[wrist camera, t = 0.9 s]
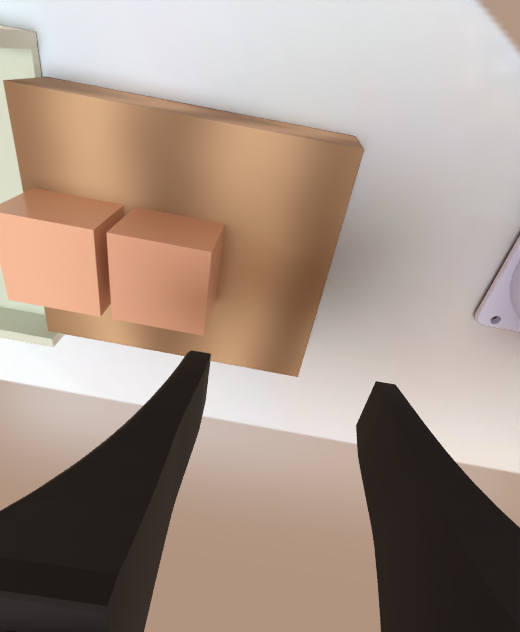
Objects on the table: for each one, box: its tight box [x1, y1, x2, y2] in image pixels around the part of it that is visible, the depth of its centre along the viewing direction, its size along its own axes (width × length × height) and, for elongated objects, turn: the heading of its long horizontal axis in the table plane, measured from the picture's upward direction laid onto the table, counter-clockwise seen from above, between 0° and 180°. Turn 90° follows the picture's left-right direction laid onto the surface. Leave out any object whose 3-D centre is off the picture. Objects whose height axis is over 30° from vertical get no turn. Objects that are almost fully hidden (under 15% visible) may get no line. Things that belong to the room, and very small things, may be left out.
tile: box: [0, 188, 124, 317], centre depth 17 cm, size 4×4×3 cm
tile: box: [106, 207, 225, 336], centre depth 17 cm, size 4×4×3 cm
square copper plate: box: [3, 77, 364, 377], centre depth 20 cm, size 14×12×3 cm
